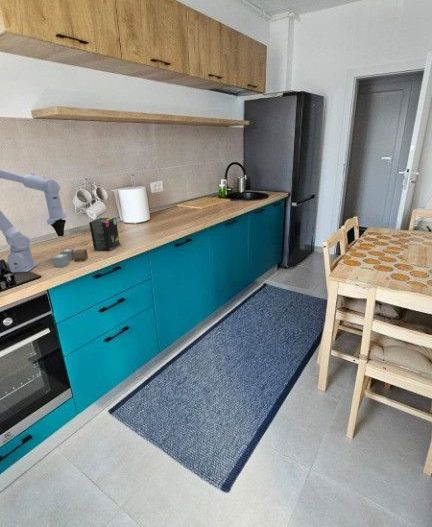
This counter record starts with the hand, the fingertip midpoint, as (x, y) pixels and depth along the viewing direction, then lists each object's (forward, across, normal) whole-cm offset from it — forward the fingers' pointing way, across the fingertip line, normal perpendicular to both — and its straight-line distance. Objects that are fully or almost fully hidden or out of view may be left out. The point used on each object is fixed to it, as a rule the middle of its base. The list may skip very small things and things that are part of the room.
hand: (60, 236), depth 145 cm
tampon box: (+11, +13, -16) cm, 23 cm away
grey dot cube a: (+10, -4, -3) cm, 11 cm away
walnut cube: (+10, -5, -10) cm, 15 cm away
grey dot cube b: (+10, -12, -4) cm, 16 cm away
